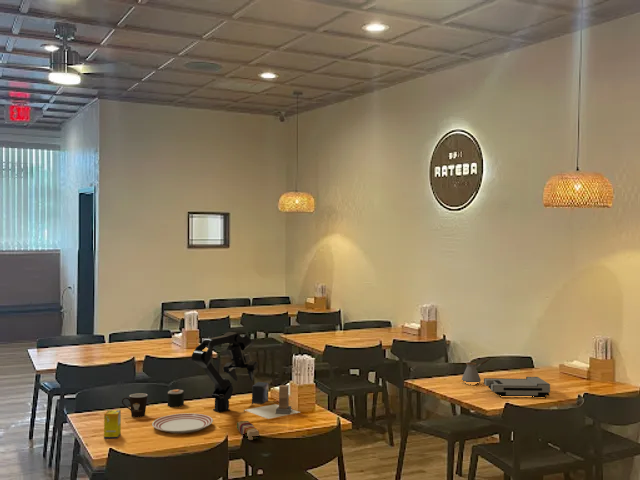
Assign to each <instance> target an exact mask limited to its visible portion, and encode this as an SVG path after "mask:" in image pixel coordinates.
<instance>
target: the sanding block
mask: <svg viewBox="0 0 640 480" xmlns="http://www.w3.org/2000/svg"><path fill="white" fill-rule="evenodd" d="M289 385H290V384H289ZM289 385H288V384H280V385H279V386H278V405H279V407H278V408H277V409H276V414H288V413H289V412H290V411H291V409H292V406H291V405H289V403H290V402H289V396H290V395H289V394H290V392H289V391H290V390H289V388H290V387H289Z"/></svg>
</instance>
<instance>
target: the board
mask: <svg viewBox="0 0 640 480" xmlns="http://www.w3.org/2000/svg"><path fill="white" fill-rule="evenodd" d="M278 407H279V404H276V403H275V404H271V405H270V404H269V405H264V406H258V407H257V406H256V407H252V408H247V409H244V410H243V412H245V411H246V412H248V413H251V414H253V415H256V416H259V417H262V418H263V419H267V420H269V419H274V418H275V419H276V418H280V417H284V416H289V415H294V414H298V413H299V414H300V413H301V411H299V410H298V411H297V410H295V409H292V408H291V411H290V412H289V413H288V414H276V409H277V408H278Z"/></svg>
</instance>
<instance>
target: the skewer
mask: <svg viewBox="0 0 640 480" xmlns="http://www.w3.org/2000/svg"><path fill="white" fill-rule="evenodd" d="M236 429H237V430H238V432H239V433H240V434H241V435H243V434H245V433H247V436H248V438H247V439H248V440H249V441H254V440H253V437H252V436H259V437H260V431H259V430H258V429H257V428H256V427H255V426H254V424H253V423H251V422H250V421H249V420H242V421H237V422H236Z"/></svg>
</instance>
